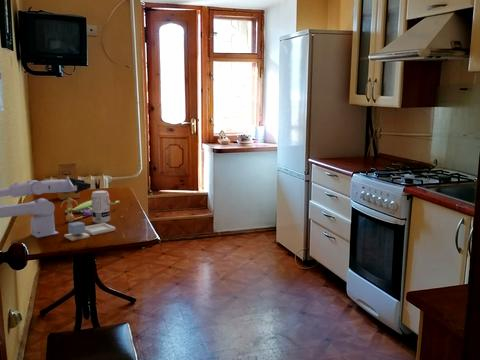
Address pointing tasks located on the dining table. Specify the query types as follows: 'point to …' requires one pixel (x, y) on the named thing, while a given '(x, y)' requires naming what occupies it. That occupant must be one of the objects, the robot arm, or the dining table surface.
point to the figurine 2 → (85, 205)
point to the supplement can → (100, 206)
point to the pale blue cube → (76, 228)
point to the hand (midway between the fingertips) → (87, 184)
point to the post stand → (76, 236)
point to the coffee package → (63, 173)
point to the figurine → (69, 216)
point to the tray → (99, 228)
